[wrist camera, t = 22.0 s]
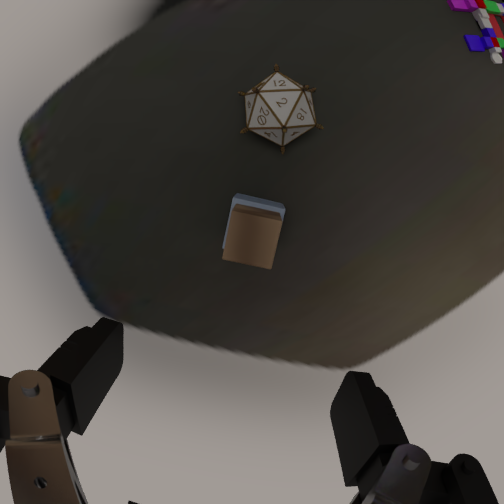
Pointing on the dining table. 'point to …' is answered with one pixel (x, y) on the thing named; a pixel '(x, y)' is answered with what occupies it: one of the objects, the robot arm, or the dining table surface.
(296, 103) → the game die
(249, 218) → the walnut block
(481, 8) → the building block set
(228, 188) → the dining table surface
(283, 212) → the blue block
